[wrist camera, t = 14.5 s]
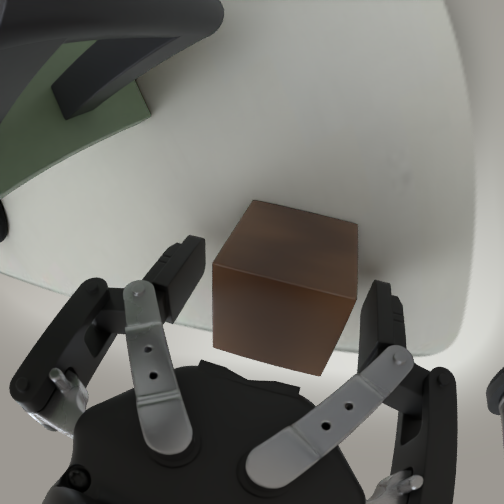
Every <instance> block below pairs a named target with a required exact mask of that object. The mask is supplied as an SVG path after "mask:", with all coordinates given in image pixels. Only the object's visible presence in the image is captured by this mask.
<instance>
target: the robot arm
mask: <svg viewBox="0 0 504 504" xmlns="http://www.w3.org/2000/svg"><path fill="white" fill-rule="evenodd" d="M205 264H206V261H205V239H204V238H200V237H196V236H192V235H189V236H187V238H186V239H185V240H184V241H183V243H182V244H180V243H176V244H174V245H172V246H170V247H169V248H168V249H167V250H166V251H165V252H164V253H163V255H162V256H161V257H160V258H159V259H158V261H157V262H156V263H155V264H154V266H153V267H152V268H151V269H150V271H149V272H148V273H147V274H146V276H145V277H144V278H143V279H142V280H137V281H133V282H131V283H129V284H128V285H127V286H126V287H125V288H108V286H107V283H106V281H105V280H103V279H101V278H91V279H88V280H86V281H84V282H83V283H82V284H81V285H80V287H79V288H78V289H77V290H76V291H75V293H74V294H73V295H72V296H71V298H70V299H69V300H68V302H67V303H66V304H65V305H64V307H63V308H62V309H61V310H60V312H59V313H58V314H57V316H56V317H55V318H54V320H53V321H52V323H51V324H50V325H49V326H48V328H47V329H46V330H45V332H44V333H43V334H42V336H41V337H40V339H39V340H38V341H37V343H36V344H35V346H34V347H33V348H32V350H31V351H30V353H29V354H28V356H27V357H26V359H25V360H24V361H23V363H22V364H21V366H20V367H19V369H18V370H17V372H16V373H15V375H14V377H13V378H12V380H11V382H10V388H9V389H10V394H11V396H12V397H13V399H14V400H15V401H17V403H19V404H20V405H21V406H22V408H23V409H24V410H25V411H26V412H27V413H28V414H29V415H30V416H31V417H32V418H34V419H35V420H36V421H37V422H39V423H41V424H42V425H43V426H44V427H45V428H47V429H48V430H50V431H60V432H61V433H63V434H65V435H66V436H68V437H70V438H72V439H73V453H72V458H71V462H70V465H69V467H68V469H67V470H66V472H65V473H64V474H63V475H62V477H61V478H60V479H59V480H58V481H57V482H56V483H55V484H54V485H53V486H52V487H51V488H50V490H49V492H48V493H47V495H46V497H45V499H44V501H43V503H42V504H452V503H453V495H454V486H455V475H456V461H457V393H456V381H455V378H454V376H453V374H452V373H451V372H450V371H449V370H448V369H446V368H443V367H436V368H434V369H432V371H431V372H430V371H428V370H426V369H424V368H422V367H420V366H418V365H416V364H415V363H414V359H413V356H412V354H411V353H410V352H409V351H408V350H407V348H406V335H405V324H404V316H403V305H402V304H401V302H400V300H399V298H398V297H397V296H393V295H391V285H390V283H386V282H382V281H378V280H374V281H373V283H372V285H371V288H370V290H369V292H368V294H367V297H366V299H365V301H364V303H363V306H362V310H361V316H360V339H359V357H358V370H357V374H355V375H354V376H353V377H352V378H350V379H349V380H348V381H347V382H346V383H345V384H343V385H342V386H341V387H340V388H339V389H337V390H336V391H335V392H334V393H333V394H331V395H330V396H329V397H328V398H326V399H325V400H324V401H323V402H321V403H320V404H319V405H318V406H315V405H314V404H313V403H312V402H310V401H309V400H308V399H306V398H305V397H303V396H301V395H299V391H300V387H297V386H293V385H289V384H284V383H281V382H277V381H256V380H255V381H254V380H247V379H245V378H243V377H241V376H240V375H238V374H236V373H234V372H233V371H231V370H229V369H227V368H226V367H223V366H220V365H216V364H213V363H210V362H207V361H204V360H201V361H200V363H199V365H198V366H184V367H179V368H176V369H174V368H173V364H172V360H171V356H170V353H169V349H168V345H167V341H166V337H165V333H164V329H163V324H164V323H165V321H166V322H169V323H172V324H173V323H174V322H175V320H176V318H177V317H178V315H179V313H180V312H181V310H182V308H183V307H184V305H185V303H186V302H187V300H188V298H189V297H190V295H191V294H192V292H193V290H194V289H195V287H196V285H197V284H198V282H199V281H200V279H201V277H202V276H203V273H204V270H205ZM117 334H126V341H127V348H128V354H129V361H130V366H131V373H132V379H133V384H134V388H133V389H130V390H128V391H126V392H124V393H122V394H119V395H117V396H115V397H113V398H111V399H108V400H106V401H104V402H102V403H99V404H97V405H95V406H92V407H91V408H89V409H87V410H86V405H87V402H88V392H87V390H86V387H87V385H88V383H89V381H90V379H91V378H92V376H93V374H94V373H95V371H96V369H97V367H98V366H99V364H100V362H101V361H102V359H103V357H104V356H105V354H106V352H107V351H108V349H109V347H110V346H111V344H112V342H113V341H114V339H115V337H116V336H117ZM381 403H384V404H386V405H388V406H390V407H392V408H394V409H396V410H398V411H399V412H398V422H397V432H396V440H395V448H394V455H393V461H392V467H391V474H390V476H389V477H387V478H385V479H383V480H381V481H380V482H379V484H378V485H377V486H376V489H375V491H374V494H373V495H372V496H371V498H369V499H368V500H366V499H365V495H364V492H363V490H362V488H361V486H360V484H359V482H358V480H357V479H356V477H355V475H354V473H353V471H352V470H351V468H350V466H349V464H348V462H347V461H346V459H345V457H344V455H343V453H342V451H341V450H340V448H339V446H338V444H340V443H341V442H342V441H343V440H344V439H345V438H347V437H348V436H349V435H350V434H351V433H352V432H353V431H354V430H355V429H356V428H357V427H358V426H359V425H360V424H361V423H362V422H363V421H365V420H366V418H368V417H369V416H370V415H371V414H372V413H373V412H374V411H375V410H376V408H377V407H378V406H379V405H380V404H381ZM498 406H499V412H500V415H501V423H502V432H503V446H504V393H503V394H502V395H501V397H500V399H499V401H498Z"/></svg>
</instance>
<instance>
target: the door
mask: <svg viewBox="0 0 504 504" xmlns="http://www.w3.org/2000/svg"><path fill="white" fill-rule="evenodd" d="M223 18H224V8H223V5H222V3H221V2H220V1H219V0H0V199H2V198H3V197H4V196H6V195H7V194H9V193H10V192H12V191H13V190H15V189H16V188H18V187H19V186H21V185H23V184H24V183H26V182H27V181H29V180H31V179H32V178H34V177H35V176H37V175H39V174H40V173H42V172H44V171H45V170H47V169H49V168H51V167H52V166H54V165H56V164H58V163H59V162H61V161H63V160H65V159H67V158H68V157H70V156H72V155H74V154H76V153H78V152H80V151H82V150H84V149H86V148H88V147H90V146H92V145H94V144H96V143H98V142H100V141H102V140H104V139H106V138H108V137H110V136H112V135H115V134H117V133H119V132H121V131H123V130H126V129H128V128H130V127H132V126H135V125H137V124H139V123H141V122H142V121H144V120H146V119H148V118H149V117H150V116H151V114H150V112H149V110H148V108H147V106H146V104H145V102H144V99H143V97H142V95H141V93H140V91H139V89H138V86H137V84H136V82H135V79H136V78H138V77H139V76H141V75H142V74H144V73H146V72H147V71H149V70H150V69H152V68H153V67H155V66H157V65H158V64H160V63H161V62H163V61H165V60H166V59H168V58H170V57H171V56H173V55H175V54H177V53H178V52H180V51H182V50H184V49H185V48H187V47H189V46H191V45H193V44H195V43H196V42H198V41H200V40H202V39H204V38H206V37H208V36H210V35H212V34H213V33H215V32H216V31H217V30H218V28H219V27H220V26H221V24H222V22H223Z"/></svg>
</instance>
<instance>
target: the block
mask: <svg viewBox="0 0 504 504" xmlns="http://www.w3.org/2000/svg"><path fill="white" fill-rule="evenodd" d="M357 284H358V225H357V224H355V223H351V222H347V221H343V220H339V219H335V218H330V217H326V216H322V215H318V214H314V213H310V212H305V211H301V210H297V209H292V208H288V207H283V206H279V205H274V204H270V203H265V202H261V201H256V200H253V201H252V203H251V204H250V206H249V207H248V209H247V210H246V212H245V213H244V215H243V216H242V218H241V219H240V221H239V222H238V224H237V225H236V227H235V229H234V230H233V232H232V233H231V235H230V236H229V238H228V239H227V241H226V242H225V244H224V246H223V247H222V249H221V250H220V252H219V253H218V255H217V256H216V258H215V260H214V261H213V263H212V312H213V347H214V348H216V349H220V350H223V351H226V352H229V353H233V354H236V355H239V356H243V357H246V358H250V359H253V360H257V361H260V362H264V363H267V364H271V365H275V366H279V367H283V368H286V369H291V370H294V371H299V372H303V373H307V374H311V375H315V376H321V374H322V372H323V370H324V368H325V366H326V364H327V362H328V360H329V358H330V356H331V354H332V352H333V350H334V348H335V346H336V344H337V342H338V340H339V338H340V336H341V334H342V331H343V329H344V327H345V325H346V323H347V321H348V318H349V316H350V314H351V312H352V309H353V307H354V305H355V303H356V300H357Z"/></svg>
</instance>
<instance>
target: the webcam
mask: <svg viewBox="0 0 504 504" xmlns="http://www.w3.org/2000/svg"><path fill="white" fill-rule="evenodd" d="M6 235H7V223H6V218H5V214H4V211H3V208H2V206H1V203H0V242H2V241H3V240H4V239H5V237H6Z"/></svg>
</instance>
